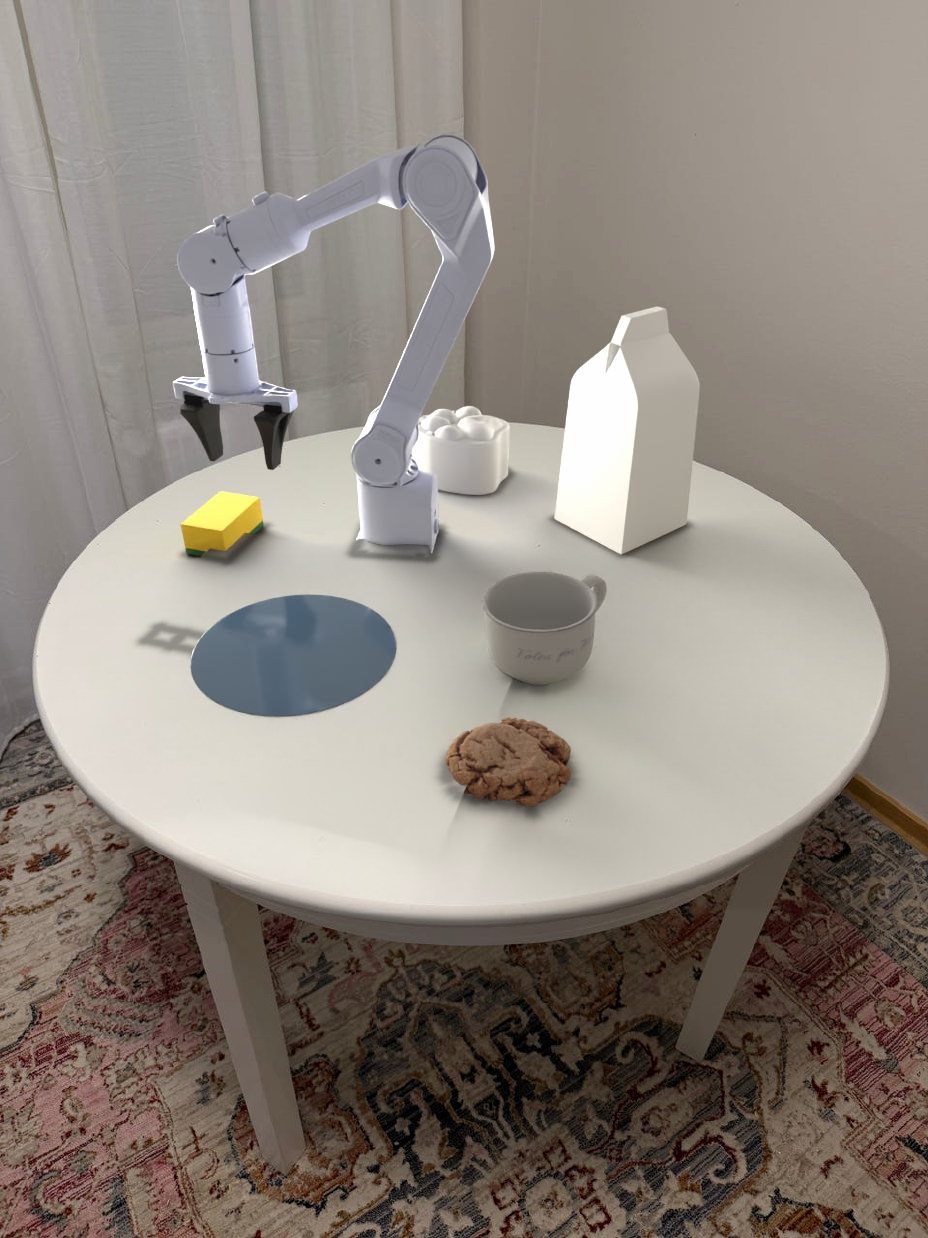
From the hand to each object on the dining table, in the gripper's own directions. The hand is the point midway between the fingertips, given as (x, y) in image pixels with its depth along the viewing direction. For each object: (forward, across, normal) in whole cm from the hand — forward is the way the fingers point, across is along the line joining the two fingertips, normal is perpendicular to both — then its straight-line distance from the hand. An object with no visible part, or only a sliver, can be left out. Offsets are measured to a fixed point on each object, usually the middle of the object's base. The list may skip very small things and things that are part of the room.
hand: (245, 462), depth 103 cm
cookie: (+10, +41, -31) cm, 52 cm away
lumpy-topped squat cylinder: (+10, +19, +23) cm, 31 cm away
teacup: (+10, +40, -14) cm, 44 cm away
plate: (+9, +16, -22) cm, 29 cm away
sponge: (+9, -2, -3) cm, 10 cm away
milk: (+10, +43, +16) cm, 47 cm away
